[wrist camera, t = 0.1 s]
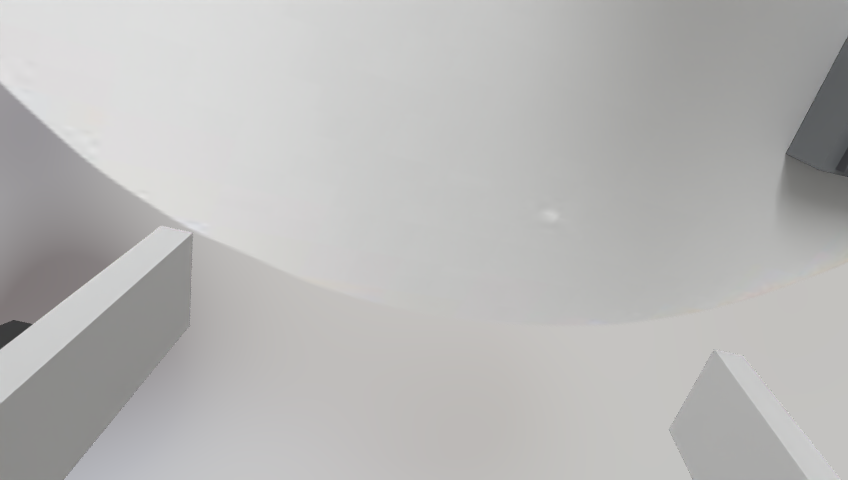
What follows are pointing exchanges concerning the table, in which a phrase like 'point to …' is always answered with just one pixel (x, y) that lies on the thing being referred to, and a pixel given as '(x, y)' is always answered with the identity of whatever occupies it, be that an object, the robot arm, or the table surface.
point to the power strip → (827, 123)
